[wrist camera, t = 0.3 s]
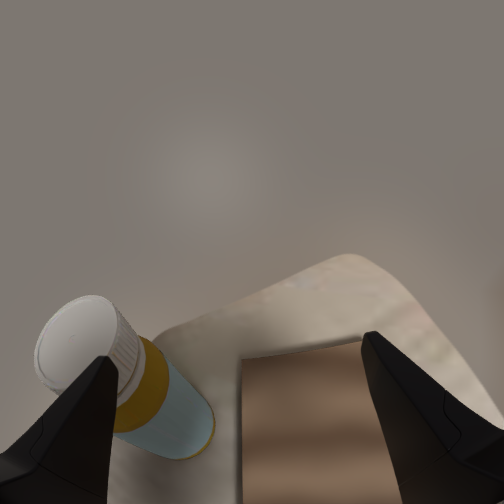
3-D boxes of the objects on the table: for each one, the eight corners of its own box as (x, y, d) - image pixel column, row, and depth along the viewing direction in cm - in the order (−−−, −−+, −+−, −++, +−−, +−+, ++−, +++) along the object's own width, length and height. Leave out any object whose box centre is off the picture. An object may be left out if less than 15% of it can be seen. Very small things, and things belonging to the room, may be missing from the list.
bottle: (134, 426, 22) (20, 341, 12) (181, 380, 26) (94, 273, 16) (181, 475, 18) (50, 424, 8) (233, 422, 21) (150, 329, 12)
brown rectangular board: (406, 526, 11) (412, 528, 10) (248, 551, 12) (244, 554, 11) (371, 346, 24) (373, 338, 23) (245, 366, 26) (241, 359, 25)
